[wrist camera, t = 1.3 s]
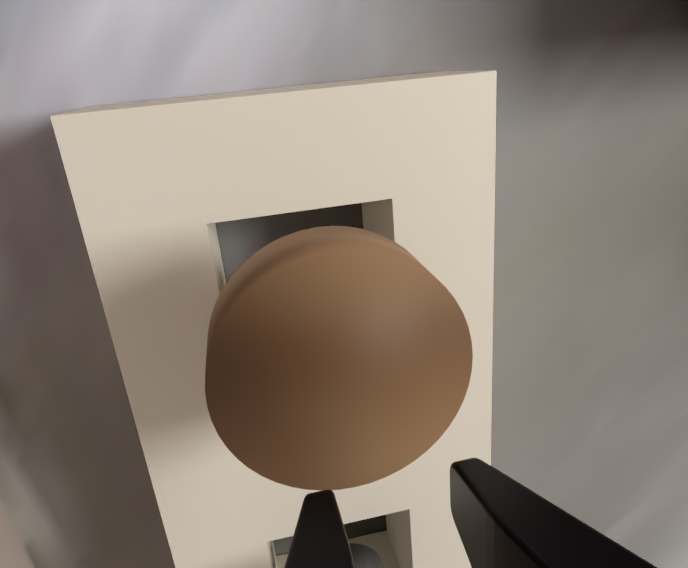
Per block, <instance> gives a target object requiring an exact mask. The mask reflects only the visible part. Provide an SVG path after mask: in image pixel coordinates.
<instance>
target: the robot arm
mask: <svg viewBox="0 0 688 568" xmlns="http://www.w3.org/2000/svg"><path fill="white" fill-rule="evenodd" d="M450 506H451V512H452V516H453V519H454V522H455V525H456V528H457V530H458V533H459V535H460V538H461V541H462V543H463V546H464V549H465V551H466V554H467V556H468V559H469V562H470V564H471V567H472V568H657V567H655V566H654V565H652V564H650V563H649V562H647V561H645V560H644V559H642V558H641V557H639V556H637V555H636V554H634V553H632V552H631V551H629V550H627V549H626V548H624V547H623V546H621V545H619V544H618V543H616V542H614V541H613V540H611V539H610V538H608V537H606V536H605V535H603V534H601V533H600V532H598V531H596V530H595V529H593V528H592V527H590V526H588V525H587V524H585V523H583V522H582V521H580V520H579V519H577V518H575V517H574V516H572V515H570V514H569V513H567V512H565V511H564V510H562V509H561V508H559V507H557V506H556V505H554V504H552V503H551V502H549V501H548V500H546V499H544V498H543V497H541V496H539V495H538V494H536V493H534V492H533V491H531V490H530V489H528V488H526V487H525V486H523V485H521V484H520V483H518V482H517V481H515V480H513V479H512V478H510V477H508V476H507V475H505V474H503V473H502V472H500V471H499V470H497V469H495V468H494V467H492V466H490V465H489V464H487V463H486V462H484V461H482V460H480V459H478V458H469V459H465V460H460V461H456V462H453V463H452V464H451V467H450ZM284 568H354V564H353V557H352V553H351V549H350V544H349V541H348V538H347V534H346V531H345V528H344V524H343V521H342V518H341V514H340V511H339V508H338V504H337V501H336V498H335V495H334V492H333V491H332V490H330V489H327V490H322V491H318V492H313V493H309V494H307V495H306V496H305V498H304V500H303V504H302V507H301V511H300V514H299V518H298V521H297V524H296V528H295V531H294V535H293V538H292V542H291V545H290V549H289V552H288V556H287V559H286V563H285V566H284Z"/></svg>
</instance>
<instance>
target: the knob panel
mask: <svg viewBox="0 0 688 568" xmlns="http://www.w3.org/2000/svg"><path fill="white" fill-rule="evenodd" d="M496 79H497V71H440V72H430V73H420V74H410V75H400V76H390V77H380V78H370V79H360V80H350V81H340V82H330V83H320V84H310V85H300V86H290V87H280V88H270V89H260V90H250V91H240V92H230V93H220V94H211V95H201V96H191V97H181V98H171V99H161V100H151V101H141V102H131V103H121V104H111V105H101V106H91V107H86V108H82V109H77V110H73V111H69V112H65V113H61V114H57V115H52V116H50V118H51V121H52V125H53V128H54V132H55V136H56V139H57V143H58V146H59V150H60V154H61V157H62V161H63V164H64V168H65V172H66V175H67V179H68V182H69V186H70V190H71V193H72V197H73V200H74V204H75V208H76V211H77V215H78V218H79V222H80V226H81V229H82V233H83V236H84V240H85V244H86V247H87V251H88V254H89V258H90V262H91V265H92V269H93V272H94V276H95V280H96V283H97V287H98V291H99V294H100V298H101V301H102V305H103V309H104V312H105V316H106V319H107V323H108V327H109V330H110V334H111V337H112V341H113V345H114V348H115V352H116V355H117V359H118V363H119V366H120V370H121V373H122V377H123V381H124V384H125V388H126V391H127V395H128V399H129V402H130V406H131V409H132V413H133V417H134V420H135V424H136V427H137V431H138V435H139V438H140V442H141V445H142V449H143V453H144V456H145V460H146V463H147V467H148V471H149V474H150V478H151V481H152V485H153V489H154V492H155V496H156V499H157V503H158V507H159V510H160V514H161V517H162V521H163V525H164V528H165V532H166V535H167V539H168V543H169V546H170V550H171V553H172V557H173V561H174V564H175V568H284V566H285V563H286V559H287V556H288V553H287V554H282V555H278V556H276V554H275V548H274V543H273V540H277V539H281V538H286V537H290V536H293V535H294V531H295V528H296V524H297V521H298V518H299V514H300V511H301V507H302V504H303V500H304V498H305V496H306V495H307V494H309V493H313V492H318V491H322V490H306V489H300V488H294V487H290V486H286V485H283V484H280V483H276V482H274V481H272V480H269V479H267V478H265V477H263V476H261V475H259V474H258V473H256V472H254V471H253V470H251V469H249V468H248V467H247V466H245V465H244V464H243V463H242V462H240V461H239V460H238V459H237V458H236V457H235V456H234V455H233V454H232V453H231V452H230V451H229V449H228V448H227V447H226V446H225V444H224V443H223V441H222V440H221V438H220V437H219V436H218V434H217V432H216V429H215V427H214V425H213V423H212V421H211V418H210V414H209V411H208V408H207V403H206V395H205V368H206V353H207V337H208V329H209V323H210V318H211V315H212V312H213V309H214V305H215V303H216V301H217V299H218V297H219V295H220V293H221V291H222V289H223V287H224V286H225V284H226V279H225V273H224V268H223V262H222V257H221V251H220V246H219V240H218V235H217V229H216V224H215V223H217V222H224V221H232V220H239V219H246V218H254V217H261V216H268V215H276V214H283V213H290V212H298V211H305V210H312V209H320V208H327V207H334V206H342V205H349V204H357V203H361V204H362V217H363V229H366V230H369V231H372V232H375V233H378V234H381V235H383V236H385V237H387V238H389V239H391V240H393V241H394V242H396V243H397V244H399V245H400V246H402V247H403V248H405V249H406V250H407V251H408V252H409V253H410V254H412V255H413V256H414V257H415V258H416V259H417V260H418V261H419V262H420V263H421V264H422V265H423V266H424V267H425V268H426V269H427V270H428V271H429V272H430V273H431V274H433V275H434V276H435V277H436V278H437V279H438V280H439V281H440V282H441V283H442V284H443V285H444V286H445V287H446V288H447V289H448V291H449V292H450V293H451V294H452V296H453V297H454V298H455V300H456V301H457V303H458V305H459V307H460V308H461V310H462V312H463V314H464V317H465V319H466V322H467V324H468V327H469V332H470V336H471V341H472V353H473V360H472V372H471V377H470V382H469V386H468V389H467V392H466V395H465V398H464V401H463V403H462V405H461V407H460V409H459V411H458V413H457V415H456V417H455V418H454V420H453V421H452V423H451V424H450V426H449V427H448V429H447V430H446V431H445V432H444V434H443V435H442V436H441V437H440V438H439V440H438V441H437V442H436V443H435V444H434V445H433V446H432V447H431V448H430V449H429V450H428V451H426V452H425V453H424V454H423V455H421V456H420V457H419V458H418V459H416V460H415V461H414V462H412V463H411V464H409V465H407V466H406V467H404V468H403V469H401V470H399V471H397V472H395V473H393V474H391V475H389V476H387V477H385V478H382V479H380V480H377V481H375V482H372V483H369V484H365V485H361V486H358V487H353V488H347V489H341V490H332V491H333V492H334V495H335V498H336V501H337V504H338V508H339V511H340V514H341V518H342V521H343V524H347V523H351V522H356V521H360V520H364V519H369V518H373V517H378V516H382V515H386V527H387V530H385V531H381V532H377V533H373V534H368V535H364V536H360V537H355V538H351V539H348V541H349V543H356V544H362V545H366V546H368V547H370V548H372V549H373V550H375V551H376V552H377V553H378V555H379V556H380V558H381V561H382V564H383V567H384V568H472V567H471V564H470V562H469V559H468V556H467V554H466V551H465V549H464V546H463V543H462V541H461V538H460V535H459V533H458V530H457V528H456V525H455V522H454V519H453V516H452V512H451V506H450V467H451V464H452V463H453V462H456V461H460V460H465V459H469V458H478V459H480V460H482V461H484V462H486V463H487V464H489V465H490V466H491V408H492V342H493V277H494V211H495V145H496Z"/></svg>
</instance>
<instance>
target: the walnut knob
mask: <svg viewBox="0 0 688 568" xmlns="http://www.w3.org/2000/svg"><path fill="white" fill-rule="evenodd" d="M472 360H473V353H472V341H471V336H470V332H469V327H468V324H467V322H466V319H465V317H464V314H463V312H462V310H461V308H460V307H459V305H458V303H457V301H456V300H455V298H454V297H453V296H452V294H451V293H450V292H449V291H448V289H447V288H446V287H445V286H444V285H443V284H442V283H441V282H440V281H439V280H438V279H437V278H436V277H435V276H434V275H433V274H431V273H430V272H429V271H428V270H427V269H426V268H425V267H424V266H423V265H422V264H421V263H420V262H419V261H418V260H417V259H416V258H415V257H414V256H413V255H412V254H410V253H409V252H408V251H407V250H406V249H405V248H403V247H402V246H400V245H399V244H397V243H396V242H394V241H393V240H391V239H389V238H387V237H385V236H383V235H381V234H378V233H375V232H372V231H369V230H366V229H360V228H355V227H349V226H323V227H314V228H310V229H305V230H300V231H297V232H294V233H291V234H288V235H286V236H283V237H281V238H279V239H277V240H275V241H273V242H271V243H269V244H267V245H266V246H264V247H263V248H261V249H260V250H258V251H257V252H255V253H254V254H253V255H252V256H251V257H249V258H248V259H247V260H246V261H245V262H244V263H242V264H241V266H240V267H239V268H238V269H237V270H236V271H235V272H234V273H233V275H232V276H231V277H230V279H229V280H228V281H227V283H226V284H225V286H224V287H223V289H222V291H221V293H220V295H219V297H218V299H217V301H216V303H215V305H214V309H213V312H212V315H211V318H210V323H209V329H208V337H207V353H206V368H205V395H206V403H207V408H208V411H209V414H210V418H211V421H212V423H213V425H214V427H215V429H216V432H217V434H218V436H219V437H220V438H221V440H222V441H223V443H224V444H225V446H226V447H227V448H228V449H229V451H230V452H231V453H232V454H233V455H234V456H235V457H236V458H237V459H238V460H239V461H240V462H242V463H243V464H244V465H245V466H247V467H248V468H249V469H251V470H253V471H254V472H256V473H258V474H259V475H261V476H263V477H265V478H267V479H269V480H272V481H274V482H276V483H280V484H283V485H286V486H290V487H294V488H300V489H306V490H327V489H330V490H341V489H347V488H353V487H358V486H361V485H365V484H369V483H372V482H375V481H377V480H380V479H382V478H385V477H387V476H389V475H391V474H393V473H395V472H397V471H399V470H401V469H403V468H404V467H406V466H407V465H409V464H411V463H412V462H414V461H415V460H416V459H418V458H419V457H420V456H421V455H423V454H424V453H425V452H426V451H428V450H429V449H430V448H431V447H432V446H433V445H434V444H435V443H436V442H437V441H438V440H439V438H440V437H441V436H442V435H443V434H444V432H445V431H446V430H447V429H448V427H449V426H450V424H451V423H452V421H453V420H454V418H455V417H456V415H457V413H458V411H459V409H460V407H461V405H462V403H463V401H464V398H465V395H466V392H467V389H468V386H469V382H470V377H471V372H472Z"/></svg>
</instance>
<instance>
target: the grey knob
mask: <svg viewBox="0 0 688 568" xmlns="http://www.w3.org/2000/svg"><path fill="white" fill-rule="evenodd" d="M349 544H350V549H351V553H352V557H353V564H354V568H384V567H383V564H382V561H381V558H380V556H379V555H378V553H377V552H376V551H375V550H373V549H372V548H370V547H368V546H366V545H362V544H356V543H349Z"/></svg>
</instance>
